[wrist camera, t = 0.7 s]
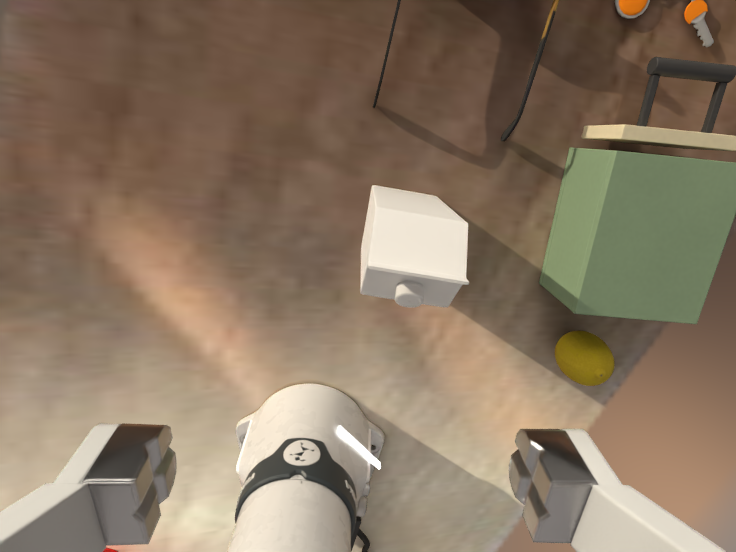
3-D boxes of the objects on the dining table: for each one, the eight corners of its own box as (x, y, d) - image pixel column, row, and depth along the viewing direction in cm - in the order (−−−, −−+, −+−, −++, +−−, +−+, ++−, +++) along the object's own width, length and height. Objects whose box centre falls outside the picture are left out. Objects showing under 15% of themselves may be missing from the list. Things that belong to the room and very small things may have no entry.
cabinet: (569, 147, 46) (616, 150, 38) (681, 158, 47) (753, 164, 38) (538, 283, 51) (574, 313, 42) (640, 292, 51) (696, 324, 43)
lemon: (594, 320, 52) (633, 352, 45) (585, 362, 54) (621, 399, 46) (548, 319, 52) (580, 350, 45) (541, 360, 54) (570, 398, 46)
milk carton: (372, 184, 47) (377, 216, 29) (436, 195, 48) (481, 234, 30) (361, 248, 49) (359, 314, 31) (423, 258, 50) (457, 329, 32)
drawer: (598, 64, 43) (643, 51, 36) (706, 76, 43) (771, 65, 36) (553, 258, 49) (584, 278, 42) (648, 266, 49) (695, 288, 42)
